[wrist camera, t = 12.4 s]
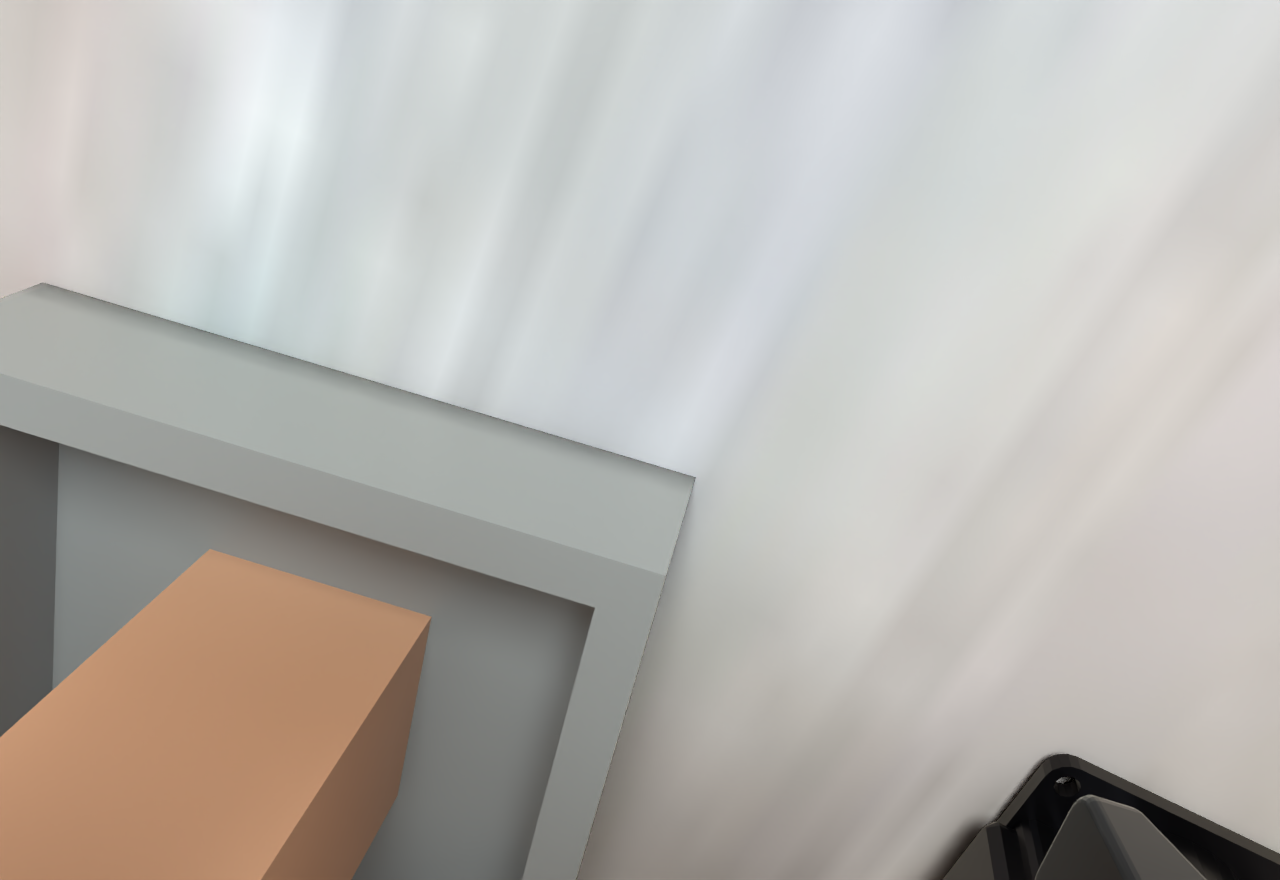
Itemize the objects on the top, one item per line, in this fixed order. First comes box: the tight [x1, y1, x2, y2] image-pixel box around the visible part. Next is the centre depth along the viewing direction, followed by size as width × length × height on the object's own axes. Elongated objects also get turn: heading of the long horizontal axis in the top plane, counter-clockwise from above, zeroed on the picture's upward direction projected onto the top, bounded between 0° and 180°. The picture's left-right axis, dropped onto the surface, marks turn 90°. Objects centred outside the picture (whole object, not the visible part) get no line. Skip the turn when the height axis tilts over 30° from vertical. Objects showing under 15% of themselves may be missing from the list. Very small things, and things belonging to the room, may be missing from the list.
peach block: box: [0, 549, 431, 880], centre depth 19 cm, size 5×5×12 cm
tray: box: [0, 283, 696, 880], centre depth 24 cm, size 14×14×4 cm
